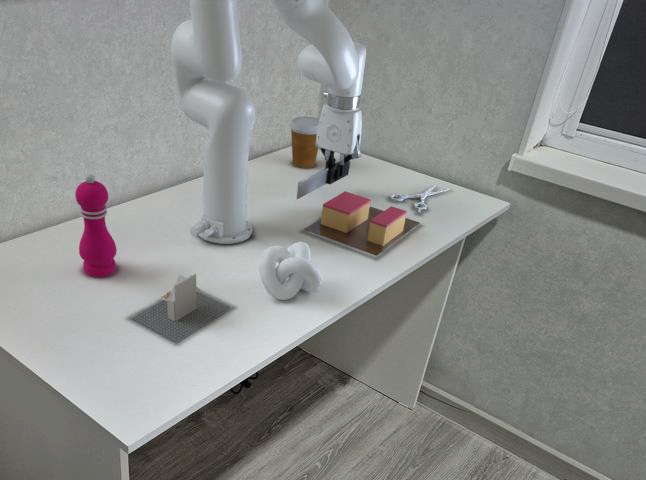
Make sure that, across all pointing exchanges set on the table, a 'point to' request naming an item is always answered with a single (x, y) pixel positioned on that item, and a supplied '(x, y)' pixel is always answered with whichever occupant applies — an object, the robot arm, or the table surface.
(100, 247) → the pepper mill
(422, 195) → the scissors
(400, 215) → the cake slice
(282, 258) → the white knot sculpture
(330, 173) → the knife
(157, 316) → the architectural model
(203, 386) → the table surface
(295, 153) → the disposable coffee cup
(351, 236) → the cake board
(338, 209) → the cake
